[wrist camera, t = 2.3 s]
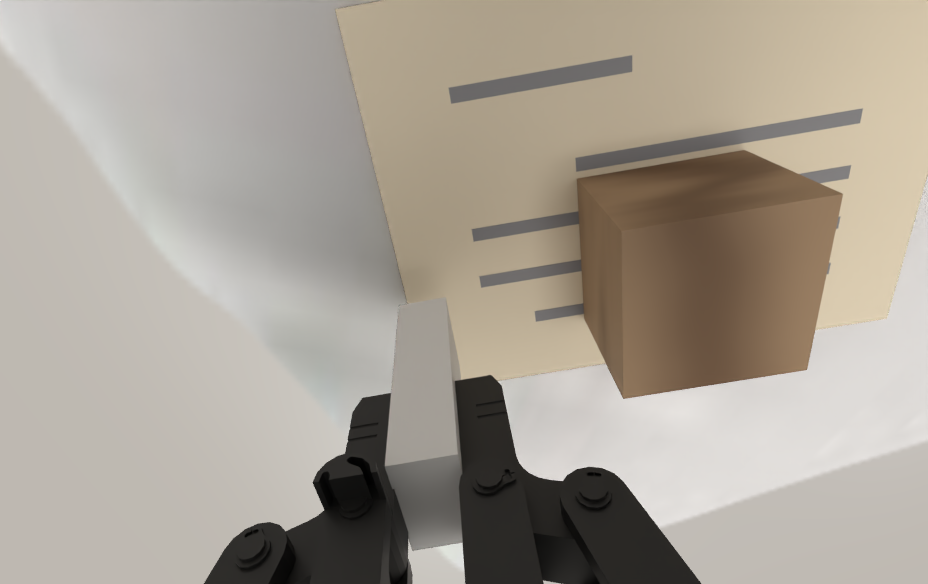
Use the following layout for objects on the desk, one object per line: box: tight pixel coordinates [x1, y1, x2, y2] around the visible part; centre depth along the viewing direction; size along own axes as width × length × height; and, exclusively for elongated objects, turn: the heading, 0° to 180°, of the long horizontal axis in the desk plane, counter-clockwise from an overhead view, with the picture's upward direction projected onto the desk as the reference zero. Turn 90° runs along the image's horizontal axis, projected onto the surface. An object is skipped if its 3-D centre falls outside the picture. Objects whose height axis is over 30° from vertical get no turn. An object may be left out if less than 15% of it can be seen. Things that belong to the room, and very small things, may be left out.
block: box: [577, 150, 843, 399], centre depth 18 cm, size 6×6×5 cm
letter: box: [335, 0, 928, 381], centre depth 19 cm, size 20×15×1 cm
